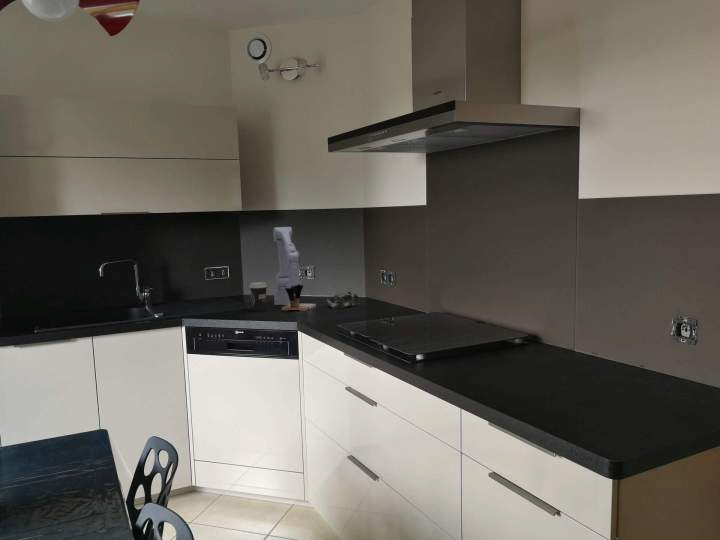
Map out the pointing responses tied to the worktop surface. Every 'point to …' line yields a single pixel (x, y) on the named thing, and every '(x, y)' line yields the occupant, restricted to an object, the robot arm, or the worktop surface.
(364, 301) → the worktop surface
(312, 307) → the pad
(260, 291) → the coffee cup
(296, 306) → the stub
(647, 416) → the worktop surface
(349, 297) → the foil
